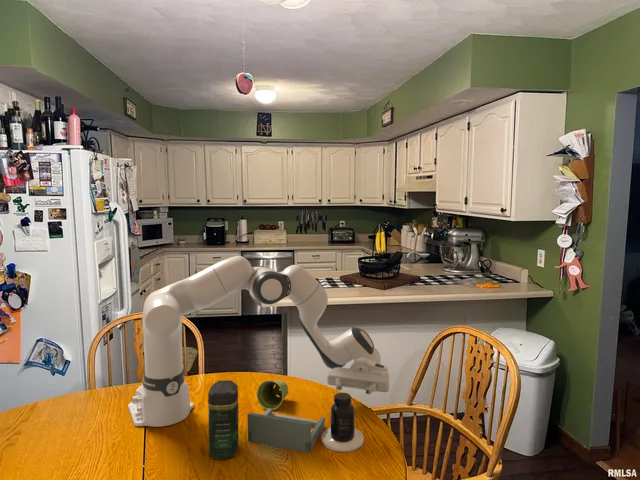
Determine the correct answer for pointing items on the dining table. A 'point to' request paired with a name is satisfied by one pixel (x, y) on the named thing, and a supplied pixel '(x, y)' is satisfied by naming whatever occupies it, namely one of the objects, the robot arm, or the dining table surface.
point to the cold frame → (284, 431)
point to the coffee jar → (223, 419)
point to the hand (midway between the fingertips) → (353, 389)
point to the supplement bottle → (342, 418)
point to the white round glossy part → (342, 446)
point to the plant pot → (271, 394)
